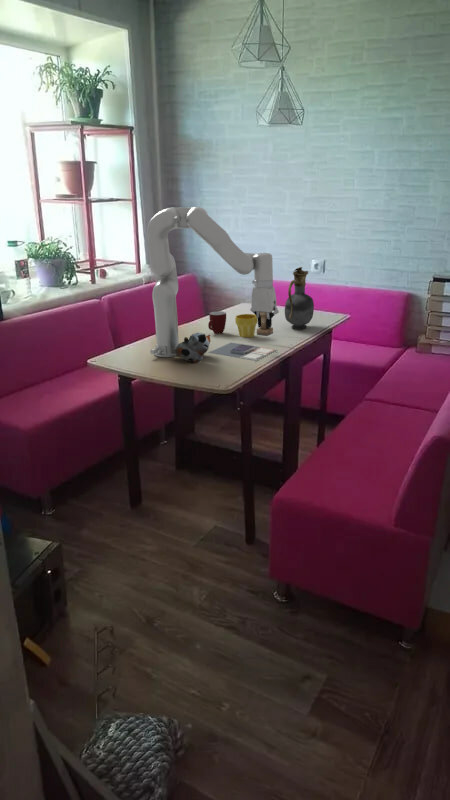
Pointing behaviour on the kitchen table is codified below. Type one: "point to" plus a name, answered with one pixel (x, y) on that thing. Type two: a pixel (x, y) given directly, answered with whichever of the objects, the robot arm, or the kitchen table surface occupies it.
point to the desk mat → (226, 350)
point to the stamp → (264, 326)
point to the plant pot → (246, 324)
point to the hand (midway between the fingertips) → (264, 326)
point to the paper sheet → (257, 353)
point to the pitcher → (299, 302)
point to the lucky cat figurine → (193, 347)
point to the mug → (217, 321)
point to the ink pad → (242, 349)
